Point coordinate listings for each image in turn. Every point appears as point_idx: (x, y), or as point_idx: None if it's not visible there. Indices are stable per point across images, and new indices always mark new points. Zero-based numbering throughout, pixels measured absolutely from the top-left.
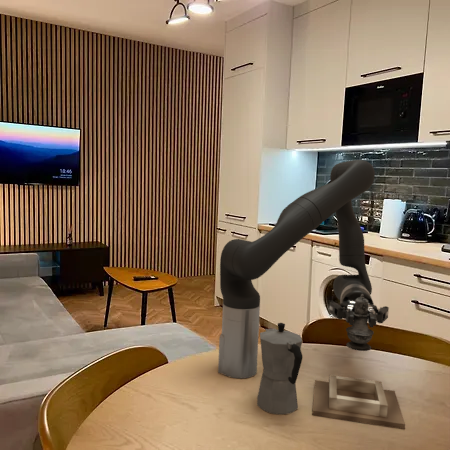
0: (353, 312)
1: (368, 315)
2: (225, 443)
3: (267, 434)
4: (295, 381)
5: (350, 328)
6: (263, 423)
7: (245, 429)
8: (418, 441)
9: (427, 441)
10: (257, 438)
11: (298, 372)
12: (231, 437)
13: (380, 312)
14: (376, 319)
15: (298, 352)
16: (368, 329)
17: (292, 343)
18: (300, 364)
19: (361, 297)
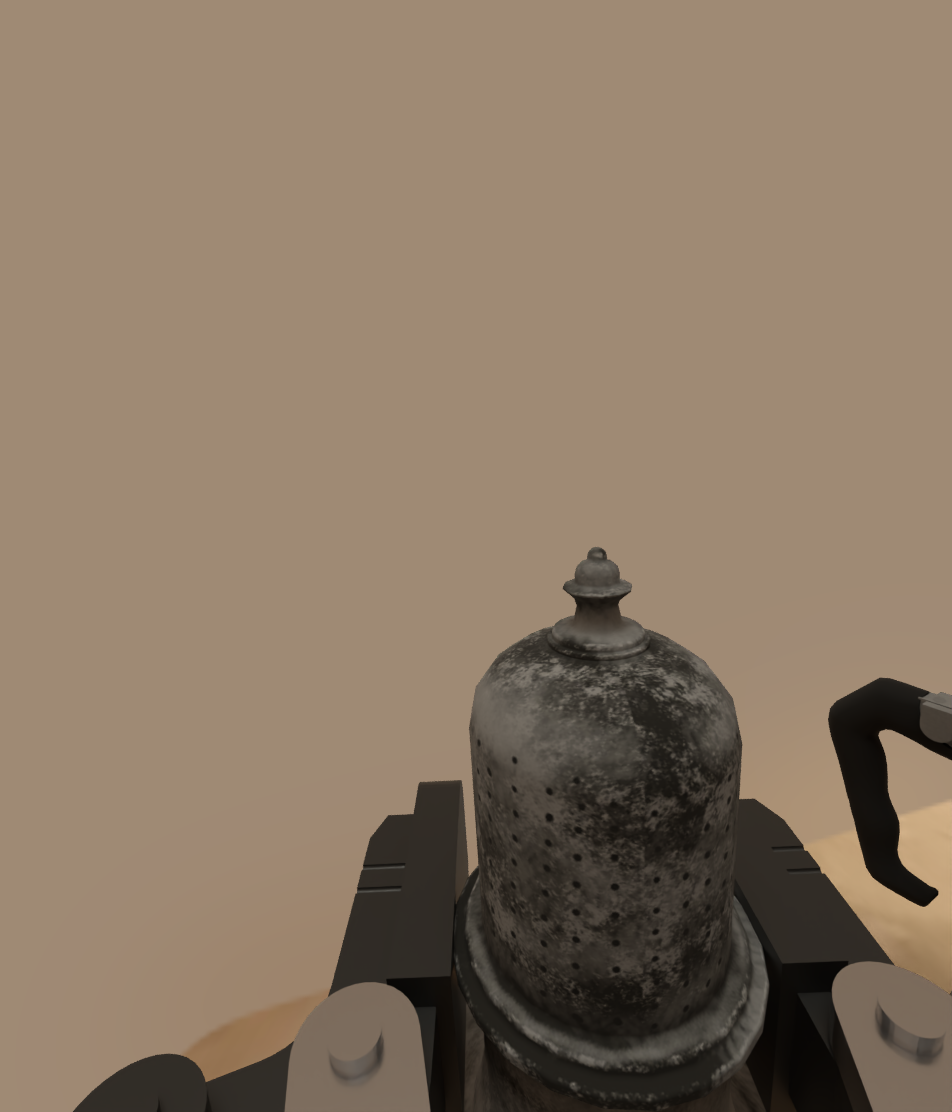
0: (739, 919)
1: (473, 878)
2: (915, 820)
3: (853, 893)
4: (862, 853)
5: (744, 1102)
6: (931, 956)
7: (944, 897)
8: (296, 1026)
9: (254, 1039)
10: (861, 864)
11: (849, 802)
12: (932, 847)
13: (174, 1056)
14: (373, 846)
15: (854, 692)
16: (469, 1083)
17: (943, 700)
18: (835, 748)
19: (605, 614)
